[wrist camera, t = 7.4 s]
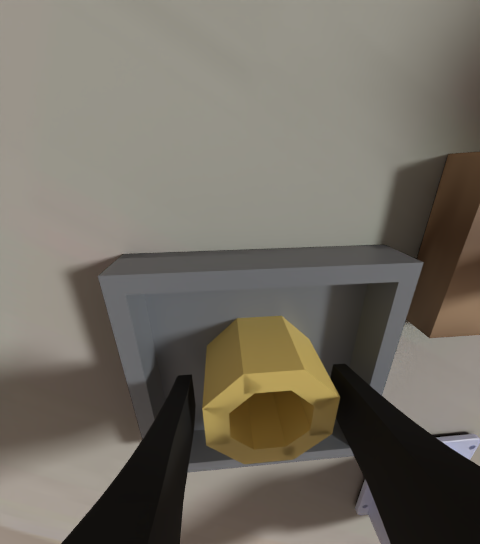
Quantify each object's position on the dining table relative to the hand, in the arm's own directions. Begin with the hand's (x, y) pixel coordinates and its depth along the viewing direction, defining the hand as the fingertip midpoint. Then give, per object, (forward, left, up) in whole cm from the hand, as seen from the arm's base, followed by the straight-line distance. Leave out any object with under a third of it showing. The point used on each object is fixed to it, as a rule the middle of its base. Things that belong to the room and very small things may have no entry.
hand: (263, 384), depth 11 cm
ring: (0, 0, -2) cm, 2 cm away
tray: (0, 0, -2) cm, 2 cm away
